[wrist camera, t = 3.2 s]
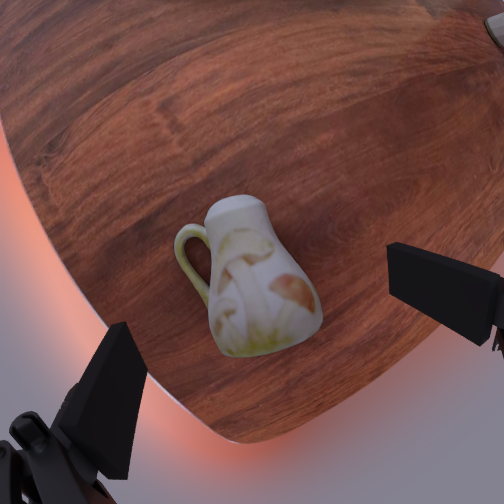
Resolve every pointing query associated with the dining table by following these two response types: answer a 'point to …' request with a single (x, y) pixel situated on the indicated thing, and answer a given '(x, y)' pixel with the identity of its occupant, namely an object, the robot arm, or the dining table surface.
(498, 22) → the bottle
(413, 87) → the dining table surface
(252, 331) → the mug
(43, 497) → the robot arm
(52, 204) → the dining table surface
